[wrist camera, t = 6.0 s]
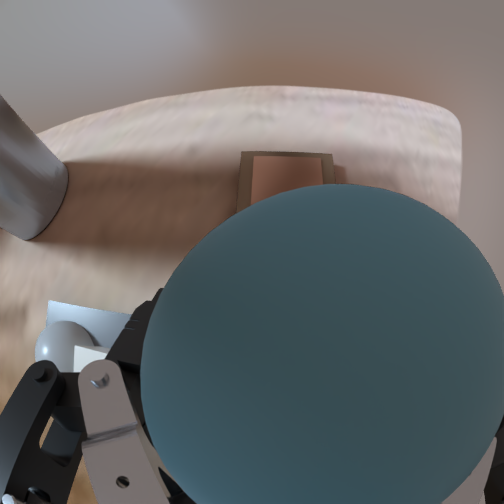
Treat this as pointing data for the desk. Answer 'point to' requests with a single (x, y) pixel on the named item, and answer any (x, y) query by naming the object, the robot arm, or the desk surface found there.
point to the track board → (280, 174)
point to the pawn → (326, 354)
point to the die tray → (77, 335)
